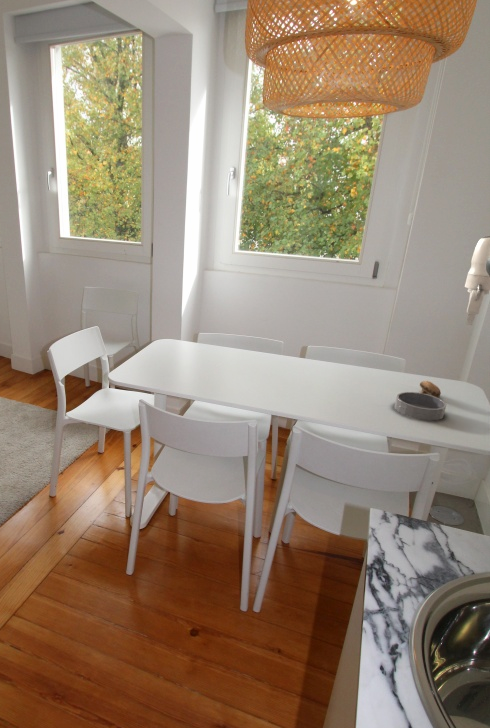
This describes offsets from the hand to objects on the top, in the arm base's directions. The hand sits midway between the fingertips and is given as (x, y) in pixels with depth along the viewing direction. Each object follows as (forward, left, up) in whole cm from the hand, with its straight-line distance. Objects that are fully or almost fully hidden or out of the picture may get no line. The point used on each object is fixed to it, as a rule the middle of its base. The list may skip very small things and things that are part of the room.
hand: (469, 321), depth 169 cm
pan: (+8, +24, -29) cm, 39 cm away
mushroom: (+7, +6, -29) cm, 31 cm away
